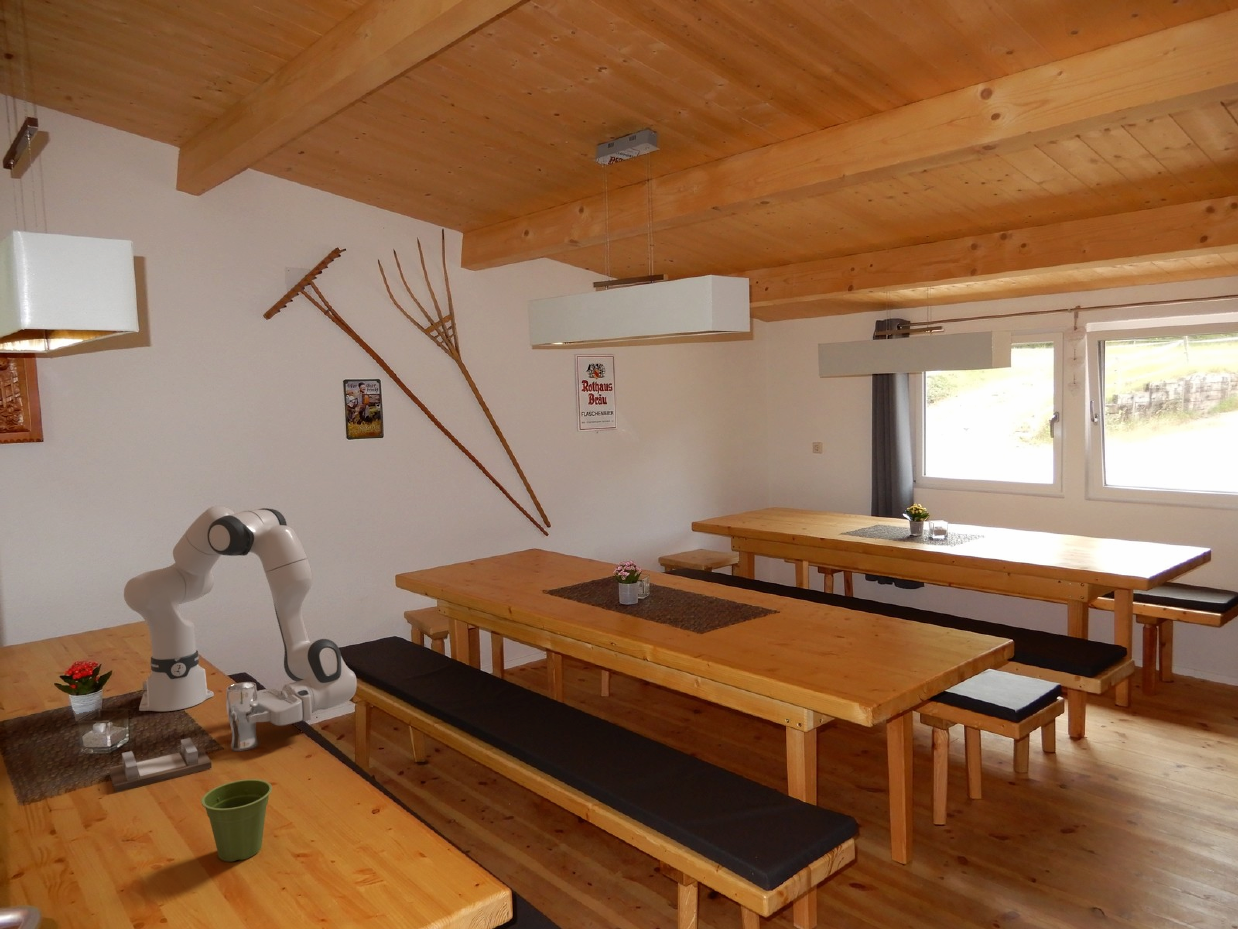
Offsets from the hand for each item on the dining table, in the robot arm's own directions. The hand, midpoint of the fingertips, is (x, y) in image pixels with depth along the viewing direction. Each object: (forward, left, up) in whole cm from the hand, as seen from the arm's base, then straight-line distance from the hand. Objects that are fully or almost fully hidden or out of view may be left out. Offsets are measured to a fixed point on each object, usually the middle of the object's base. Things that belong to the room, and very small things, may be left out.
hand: (239, 715), depth 201 cm
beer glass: (0, +1, -8) cm, 8 cm away
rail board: (+3, -18, -8) cm, 20 cm away
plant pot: (+53, -11, -8) cm, 55 cm away
